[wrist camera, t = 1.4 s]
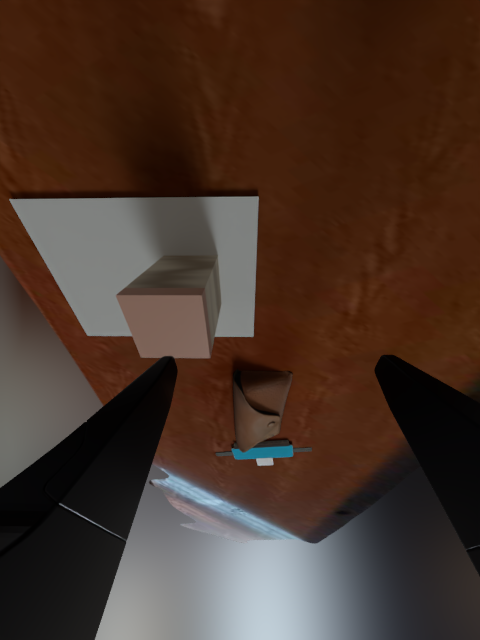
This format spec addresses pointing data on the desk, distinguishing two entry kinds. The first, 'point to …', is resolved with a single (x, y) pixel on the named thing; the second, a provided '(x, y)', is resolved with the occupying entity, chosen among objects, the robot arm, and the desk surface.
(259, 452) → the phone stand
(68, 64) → the desk surface
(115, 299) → the grey mat
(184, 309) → the birch block
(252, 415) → the sunglasses case
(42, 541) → the robot arm
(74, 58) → the desk surface
